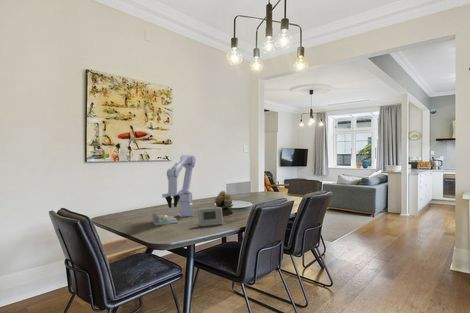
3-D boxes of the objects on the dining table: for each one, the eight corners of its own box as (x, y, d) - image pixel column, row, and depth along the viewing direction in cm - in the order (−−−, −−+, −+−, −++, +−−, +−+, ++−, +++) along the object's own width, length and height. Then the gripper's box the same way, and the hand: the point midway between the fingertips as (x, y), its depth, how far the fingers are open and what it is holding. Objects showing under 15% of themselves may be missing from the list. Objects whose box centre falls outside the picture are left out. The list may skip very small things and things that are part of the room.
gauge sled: (166, 219, 192) (166, 212, 191) (168, 220, 187) (168, 214, 187) (158, 220, 189) (158, 213, 189) (159, 221, 185) (159, 215, 185)
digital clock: (198, 227, 177) (198, 210, 177) (197, 223, 186) (197, 207, 186) (224, 226, 181) (224, 209, 181) (221, 222, 190) (222, 206, 189)
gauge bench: (173, 219, 197) (173, 212, 197) (177, 223, 187) (177, 215, 187) (152, 221, 191) (152, 213, 191) (155, 225, 181) (155, 217, 181)
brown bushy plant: (237, 213, 218) (237, 190, 218) (226, 216, 210) (226, 192, 209) (220, 209, 230) (220, 188, 230) (209, 212, 222) (210, 190, 221)
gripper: (178, 185, 198) (178, 205, 199) (159, 187, 188) (159, 207, 188) (184, 186, 194) (184, 206, 194) (165, 188, 183) (165, 209, 184)
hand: (172, 207), depth 191 cm, fingers open, 3 cm apart
